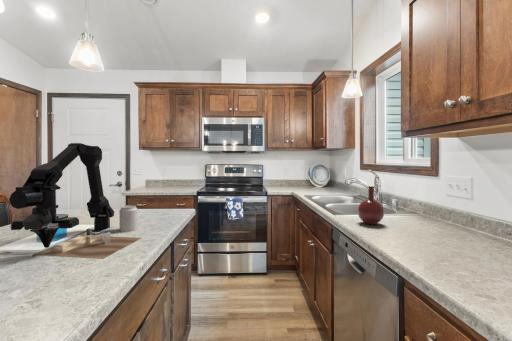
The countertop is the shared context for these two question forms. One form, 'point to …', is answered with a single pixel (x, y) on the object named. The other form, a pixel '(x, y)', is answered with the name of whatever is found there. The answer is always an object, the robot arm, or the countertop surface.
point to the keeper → (104, 235)
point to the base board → (93, 248)
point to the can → (128, 218)
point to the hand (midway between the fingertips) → (46, 247)
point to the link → (74, 242)
